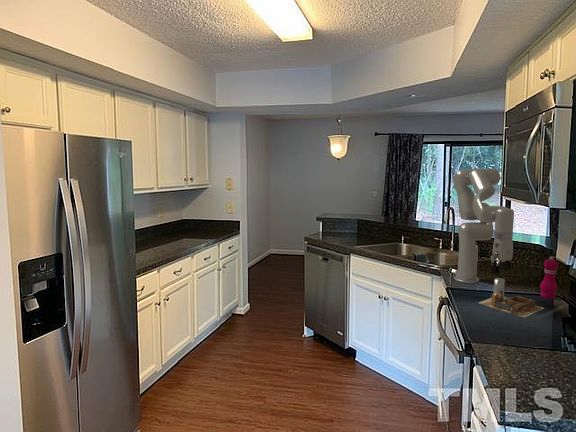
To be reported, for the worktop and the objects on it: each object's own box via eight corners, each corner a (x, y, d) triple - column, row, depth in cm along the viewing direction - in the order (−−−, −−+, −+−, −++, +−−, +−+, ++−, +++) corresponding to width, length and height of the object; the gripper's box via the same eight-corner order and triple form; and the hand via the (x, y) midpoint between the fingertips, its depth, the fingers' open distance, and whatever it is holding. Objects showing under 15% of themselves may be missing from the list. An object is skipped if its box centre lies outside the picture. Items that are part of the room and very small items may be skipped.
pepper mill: (540, 293, 216) (544, 253, 213) (557, 296, 212) (561, 256, 209) (537, 297, 211) (541, 256, 208) (555, 300, 206) (559, 259, 203)
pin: (490, 305, 196) (491, 294, 195) (493, 304, 198) (494, 293, 197) (508, 310, 190) (509, 299, 189) (511, 309, 191) (512, 298, 190)
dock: (477, 305, 200) (478, 296, 199) (498, 297, 211) (499, 288, 210) (524, 320, 183) (525, 310, 183) (544, 310, 194) (545, 300, 193)
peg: (490, 299, 204) (492, 279, 202) (496, 297, 207) (497, 277, 205) (500, 302, 201) (501, 281, 199) (505, 300, 203) (506, 279, 201)
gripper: (501, 239, 190) (498, 277, 193) (521, 234, 200) (518, 271, 203) (484, 236, 196) (482, 273, 199) (505, 232, 206) (502, 267, 209)
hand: (500, 272), depth 201 cm, fingers open, 9 cm apart
